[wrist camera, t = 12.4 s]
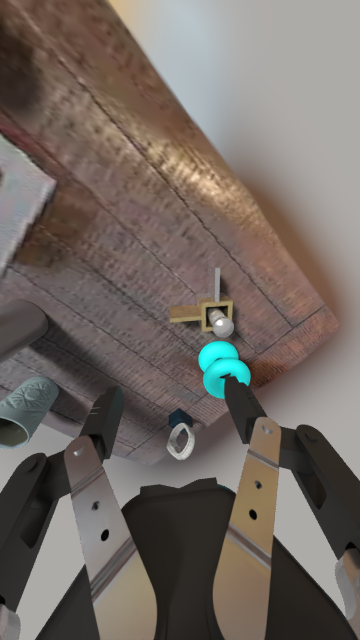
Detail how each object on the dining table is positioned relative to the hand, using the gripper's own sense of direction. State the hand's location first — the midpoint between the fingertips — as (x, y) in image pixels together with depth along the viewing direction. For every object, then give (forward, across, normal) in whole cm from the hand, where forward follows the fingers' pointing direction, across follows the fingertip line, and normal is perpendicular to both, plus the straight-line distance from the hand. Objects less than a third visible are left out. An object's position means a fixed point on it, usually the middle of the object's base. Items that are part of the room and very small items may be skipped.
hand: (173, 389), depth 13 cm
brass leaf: (+27, -6, +2) cm, 27 cm away
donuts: (+27, -12, +16) cm, 33 cm away
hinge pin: (+26, -9, +2) cm, 28 cm away
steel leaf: (+26, -9, -1) cm, 28 cm away
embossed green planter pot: (+29, +35, +23) cm, 51 cm away
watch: (+28, -1, +37) cm, 46 cm away
